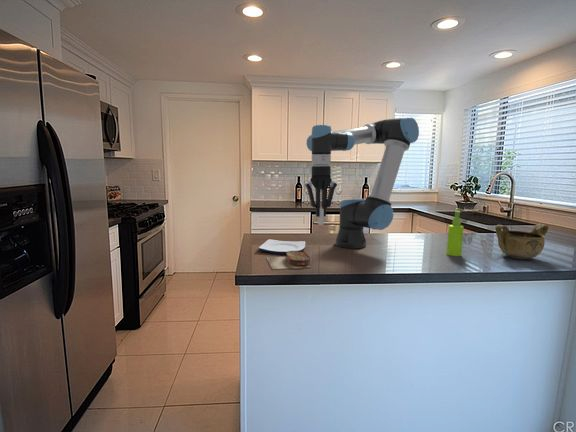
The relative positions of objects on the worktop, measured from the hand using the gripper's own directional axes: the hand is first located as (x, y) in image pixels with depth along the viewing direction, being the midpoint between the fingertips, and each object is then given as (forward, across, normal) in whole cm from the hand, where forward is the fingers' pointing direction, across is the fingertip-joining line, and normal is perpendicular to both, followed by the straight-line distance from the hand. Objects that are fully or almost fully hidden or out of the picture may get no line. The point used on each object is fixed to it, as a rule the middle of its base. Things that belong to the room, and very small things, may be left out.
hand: (320, 224), depth 136 cm
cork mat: (+15, -14, 0) cm, 21 cm away
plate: (+16, -12, +22) cm, 29 cm away
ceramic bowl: (+18, +88, -9) cm, 91 cm away
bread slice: (+14, -5, 0) cm, 15 cm away
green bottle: (+17, +63, +1) cm, 66 cm away
